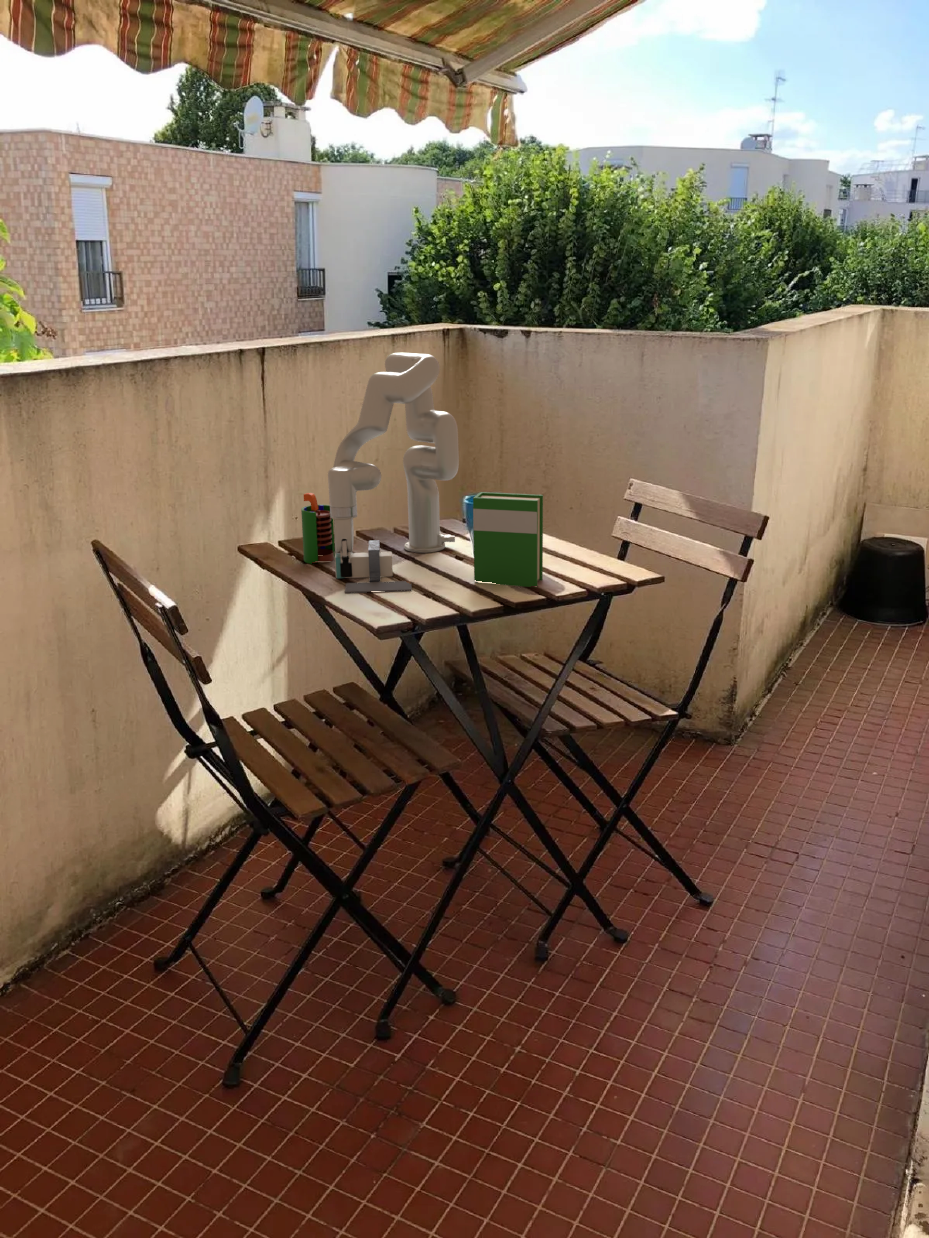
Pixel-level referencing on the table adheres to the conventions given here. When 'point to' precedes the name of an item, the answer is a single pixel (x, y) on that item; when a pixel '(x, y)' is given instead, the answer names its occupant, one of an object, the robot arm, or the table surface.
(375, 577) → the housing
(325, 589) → the table surface
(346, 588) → the mat
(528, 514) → the hardback book
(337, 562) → the white and teal box
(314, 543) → the motor
